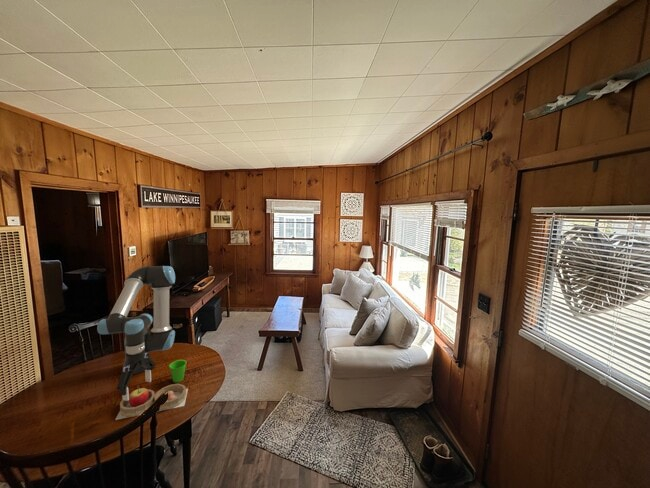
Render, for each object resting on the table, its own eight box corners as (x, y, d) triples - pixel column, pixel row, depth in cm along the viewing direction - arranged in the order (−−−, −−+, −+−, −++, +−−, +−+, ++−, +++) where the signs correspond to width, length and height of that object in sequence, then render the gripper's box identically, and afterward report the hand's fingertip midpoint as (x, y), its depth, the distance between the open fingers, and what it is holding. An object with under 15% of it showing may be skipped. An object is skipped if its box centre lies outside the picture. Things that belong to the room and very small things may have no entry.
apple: (147, 397, 137) (146, 379, 136) (150, 405, 131) (149, 387, 130) (127, 404, 131) (126, 386, 130) (130, 414, 125) (129, 395, 124)
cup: (179, 387, 147) (178, 369, 146) (165, 385, 149) (165, 367, 147) (190, 378, 156) (190, 361, 154) (177, 375, 157) (177, 358, 156)
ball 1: (165, 397, 137) (165, 391, 137) (172, 394, 140) (172, 388, 139) (166, 400, 135) (166, 394, 134) (174, 397, 137) (174, 391, 137)
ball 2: (167, 401, 134) (166, 395, 134) (174, 398, 137) (174, 392, 136) (168, 405, 132) (168, 399, 131) (176, 402, 134) (176, 396, 134)
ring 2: (152, 398, 136) (152, 391, 136) (181, 387, 146) (181, 380, 145) (157, 414, 126) (157, 406, 125) (189, 400, 135) (188, 393, 135)
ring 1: (119, 404, 131) (118, 397, 130) (151, 392, 140) (151, 385, 140) (122, 421, 121) (121, 413, 120) (157, 407, 130) (156, 399, 130)
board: (115, 422, 122) (115, 419, 121) (125, 401, 135) (125, 399, 134) (184, 408, 132) (184, 405, 132) (188, 390, 145) (188, 388, 145)
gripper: (119, 366, 115) (122, 409, 117) (161, 339, 139) (162, 375, 142) (104, 364, 115) (107, 407, 118) (148, 338, 140) (150, 373, 143)
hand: (137, 390), depth 130 cm, fingers open, 13 cm apart
